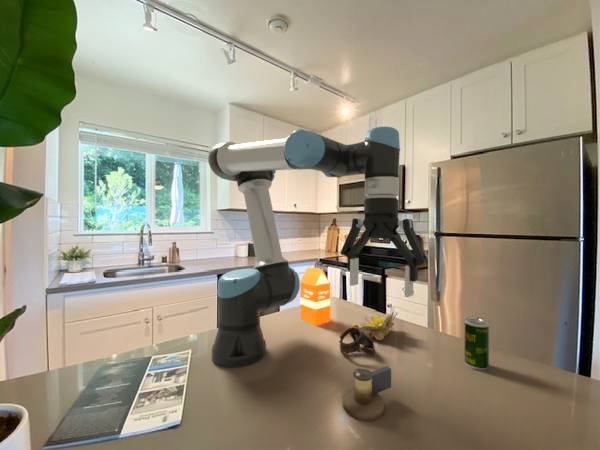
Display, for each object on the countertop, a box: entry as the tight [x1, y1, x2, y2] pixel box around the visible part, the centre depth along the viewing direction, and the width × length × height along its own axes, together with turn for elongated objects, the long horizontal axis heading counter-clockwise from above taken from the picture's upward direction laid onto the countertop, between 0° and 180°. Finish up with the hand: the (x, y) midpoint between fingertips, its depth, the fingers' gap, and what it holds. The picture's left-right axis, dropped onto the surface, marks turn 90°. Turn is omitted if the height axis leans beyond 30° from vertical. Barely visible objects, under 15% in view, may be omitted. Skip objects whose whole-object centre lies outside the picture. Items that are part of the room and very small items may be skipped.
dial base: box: [342, 387, 384, 422], centre depth 55 cm, size 8×8×2 cm
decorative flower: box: [358, 311, 399, 341], centre depth 92 cm, size 15×11×10 cm
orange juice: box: [299, 266, 331, 326], centre depth 104 cm, size 8×9×20 cm
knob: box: [352, 365, 392, 405], centre depth 57 cm, size 9×4×5 cm, turn 120°
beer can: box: [464, 315, 490, 371], centre depth 71 cm, size 5×5×12 cm
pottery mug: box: [339, 325, 377, 357], centre depth 79 cm, size 12×10×8 cm
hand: (379, 290), depth 63 cm, fingers open, 13 cm apart
